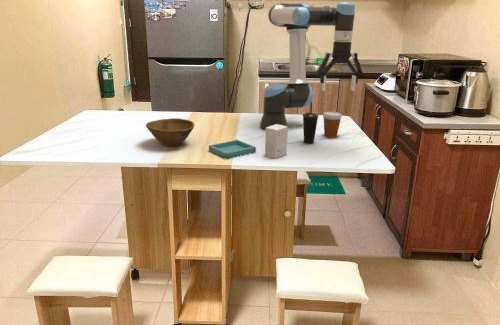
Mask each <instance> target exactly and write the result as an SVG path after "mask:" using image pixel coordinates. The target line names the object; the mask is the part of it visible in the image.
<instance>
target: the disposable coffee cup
mask: <svg viewBox="0 0 500 325" xmlns="http://www.w3.org/2000/svg"><path fill="white" fill-rule="evenodd" d="M322 117H323V132H324V134H323V135H324V137H325V138H328V139H335V138H338V133H339V128H340V124H341V119H342V117H343V116H342V113H340V112H337V111H326V112H325V111H324V113H323V114H322Z"/></svg>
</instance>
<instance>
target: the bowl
mask: <svg viewBox="0 0 500 325" xmlns="http://www.w3.org/2000/svg"><path fill="white" fill-rule="evenodd" d="M145 127H146V128H147V130H148V131H149V133H151V135H152V136H153V137H154V138H155V139H156V140H157V142H159V143H160V144H161V145H162V146H164V147H179V146H182V145H183V143H184V142H185V141H186V140H187V138H188V137H189V136H190V134H191V133H192V131H193V129H195V128H194V127H195V122H193V121H191V120H189V119H185V118H179V117H178V118H177V117H176V118H175V117H174V118H162V119H155V120H152V121H151V120H150V121H148V122H147V123H146V124H145Z"/></svg>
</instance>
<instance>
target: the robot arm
mask: <svg viewBox="0 0 500 325" xmlns="http://www.w3.org/2000/svg"><path fill="white" fill-rule="evenodd" d="M355 8H356V5H355V2H337V4H336V7H333V6H332V7H330V6H329V7H326V6H325V7H323V6H322V7H321V6H318V7H316V6H310V5H309V4H304V3H282V2H281V3H277V4H273V5H272V6H271V7H270V9H269V10H268V14H267V17H268V20H269V22H270V23H271V25H273V26H275V27H278V28H286V33H287V34H288V37H289V43H288V44H289V81H288V82H287V83H286V84H284V83H274V84H269V85H266V86H265V87H264V91H263V113H262V117H261V119H260V120H261V121H260V122H259V129H261V130H265V131H266V127H269V126H272V125H275V124H278V125H283V126H287V127H288V122H287V119H286V118H287V117H286V113H285V112H286V111H285V110H286V109H297V108H300V109H301V108H306V107H309V106H310V105H311V102H312V101H313V96H314V92H313V88H312V86H310V85H309V81H308V80H307V79H306V75H307V74H306V73H307V72H306V70H307V69H306V68H307V67H306V64H307V62H306V59H307V58H306V53H307V52H306V47H307V46H306V45H307V44H306V43H307V42H306V34H307V33H308V31H309V28H310V27H311V26H321V27H323V26H325V27H326V26H330V27H331V26H332V27H333V26H334V32H333V33H334V36H333V40H334V41H333V43H332V45H333V46H332V52H331V53H330V52H325V54H324V58H323V60H322V62H321V64H320V65H319V66H318V69H317V71H316V75H319V76H320V78H319V79H320V81H319V82H320V84H321V91H322V92H326V83H327V75H326V74H327V73H328V72H329V71H330V70H331V68H333V67H334V65H336V64H346V65H347V66H348V68H349V70H350V71H351V72H352V73H353V74H352V75H351V83H350V91H352V92H355V89H356V84H357V83H358V80H359V79H358V78H359V76H361V75H363V70H362V67H361V63H360V61H359V58H358V53H357V52H353V53H352V52H351V51H352V42H351V41H352V40H353V33H354V31H353V30H354V29H353V28H354V22H355V14H356V11H355ZM330 58H332V59H331V60H330V62H329V59H330ZM350 58H352V60H353V63H354V64H352V62H351V60H350ZM328 62H329V63H328ZM327 63H328V64H327ZM353 65H355V67H354V66H353Z"/></svg>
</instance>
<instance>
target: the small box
mask: <svg viewBox="0 0 500 325" xmlns="http://www.w3.org/2000/svg"><path fill="white" fill-rule="evenodd" d="M264 139H265V140H264V141H265V142H264V143H265V146H264V156H265V157H268V156H269V158H271V157H272V159H275V160H277V159H279V158H281V157H282V156H286V155H287V153H288V152H287V151H288V125H287V126H283V125H278V124H275V125H272V126H269V127H266V130H265V138H264Z"/></svg>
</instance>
